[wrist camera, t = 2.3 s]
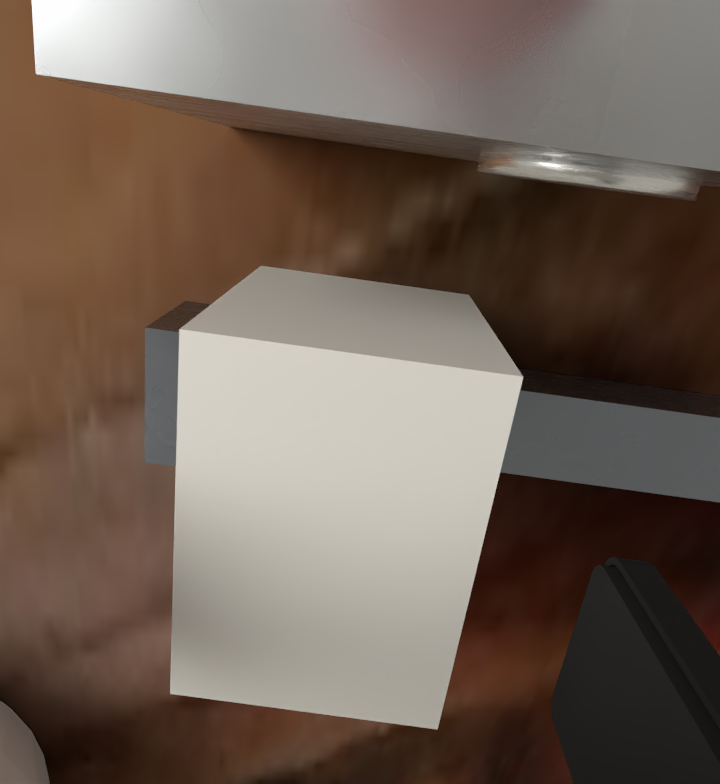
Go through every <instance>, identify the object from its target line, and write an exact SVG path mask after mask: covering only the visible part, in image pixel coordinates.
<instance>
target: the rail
mask: <svg viewBox="0 0 720 784" xmlns="http://www.w3.org/2000/svg"><path fill="white" fill-rule="evenodd" d="M208 306H210V305H209V304H202V303H195V302H187V301H185V302H183V303H182V304H180V305H179V306H177V307H176V308H174V309H173V310H171V311H170V312H168V313H166V314H165V315H163V316H162V317H160V318H159V319H157V320H156V321H154V322H153V323H151V324H150V325H148V326H147V327H145V462H147V463H154V464H162V465H169V466H176V441H177V401H178V361H179V329H180V328H181V327H183V326H184V325H185V324H187V323H188V322H189V321H190V320H192V319H193V318H194V317H196V316H197V315H198V314H199V313H201V312H202V311H203V310H205V309H206V308H207V307H208ZM518 369H519V371H520V372H521V374H522V375H523V381H522V385H521V389H520V393H519V397H518V401H517V405H516V409H515V414H514V418H513V422H512V426H511V430H510V434H509V438H508V442H507V446H506V450H505V455H504V459H503V463H502V467H501V471H500V472H501V473H509V474H516V475H523V476H531V477H538V478H545V479H552V480H560V481H567V482H574V483H582V484H589V485H596V486H603V487H611V488H618V489H625V490H633V491H640V492H647V493H654V494H662V495H669V496H676V497H684V498H691V499H698V500H705V501H713V502H720V396H716V395H709V394H702V393H695V392H688V391H680V390H673V389H666V388H659V387H652V386H644V385H637V384H630V383H623V382H616V381H608V380H601V379H594V378H587V377H580V376H572V375H565V374H558V373H551V372H544V371H536V370H529V369H522V368H518Z"/></svg>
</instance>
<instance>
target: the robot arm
mask: <svg viewBox="0 0 720 784" xmlns="http://www.w3.org/2000/svg"><path fill="white" fill-rule="evenodd" d="M552 717H553V722H554V725H555V728H556V731H557V734H558V737H559V740H560V743H561V746H562V749H563V752H564V755H565V758H566V761H567V764H568V767H569V770H570V773H571V776H572V779H573V782H574V784H720V656H719V655H718V653H717V652H716V650H715V649H714V648H713V646H712V645H711V644H710V642H709V641H708V639H707V638H706V637H705V635H704V634H703V632H702V631H701V630H700V628H699V627H698V626H697V624H696V623H695V621H694V620H693V619H692V617H691V616H690V615H689V613H688V612H687V610H686V609H685V608H684V606H683V605H682V603H681V602H680V601H679V599H678V598H677V597H676V595H675V594H674V592H673V591H672V590H671V588H670V587H669V586H668V584H667V583H666V581H665V580H664V579H663V577H662V576H661V574H660V573H659V572H658V570H657V569H656V568H655V566H654V565H653V564H652V563H650V562H647V561H639V560H631V559H623V558H615V557H612V558H609V559H608V560H607V561H606V562H605V564H604V566H602V565H598V566H596V567H595V568H594V570H593V572H592V574H591V578H590V581H589V584H588V587H587V590H586V593H585V596H584V599H583V603H582V606H581V609H580V612H579V615H578V618H577V621H576V625H575V628H574V631H573V634H572V637H571V640H570V643H569V646H568V650H567V653H566V656H565V659H564V662H563V665H562V668H561V671H560V675H559V678H558V681H557V684H556V687H555V690H554V693H553V698H552Z"/></svg>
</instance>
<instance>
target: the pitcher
mask: <svg viewBox="0 0 720 784" xmlns="http://www.w3.org/2000/svg"><path fill="white" fill-rule="evenodd" d="M0 784H50V781H49V777H48V772H47V767H46V763H45V758H44V755H43V753H42V751H41V749H40V747H39V745H38V743H37V741H36V739H35V737H34V735H33V733H32V731H31V730H30V729H29V728H28V726H27V725H26V724H25V723H24V722H23V721H22V720H21V719H20V718H19V717H18V716H17V714H16V713H15V712H14V711H13V710H12V709H11V708H10V707H8V706H7V705H6V704H4V703H3V702H2V701H0Z"/></svg>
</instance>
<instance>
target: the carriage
mask: <svg viewBox="0 0 720 784" xmlns="http://www.w3.org/2000/svg"><path fill="white" fill-rule="evenodd" d="M522 381H523V375H522V374H521V372H520V371H519V369H518V368H517V366H516V365H515V363H514V362H513V360H512V359H511V357H510V356H509V354H508V353H507V351H506V350H505V348H504V347H503V345H502V344H501V342H500V341H499V339H498V338H497V336H496V335H495V333H494V332H493V330H492V329H491V327H490V326H489V324H488V323H487V321H486V320H485V318H484V317H483V315H482V314H481V312H480V311H479V309H478V308H477V306H476V305H475V303H474V302H473V300H472V299H471V297H470V296H469V295H467V294H460V293H453V292H446V291H438V290H431V289H424V288H417V287H410V286H403V285H395V284H388V283H381V282H374V281H367V280H360V279H353V278H345V277H338V276H331V275H324V274H317V273H310V272H302V271H295V270H288V269H281V268H274V267H267V266H260V267H259V268H257V269H256V270H255V271H254V272H252V273H251V274H250V275H248V276H247V277H246V278H245V279H243V280H242V281H241V282H239V283H238V284H237V285H236V286H234V287H233V288H232V289H230V290H229V291H228V292H227V293H225V294H224V295H223V296H221V297H220V298H219V299H218V300H216V301H215V302H214V303H212V304H211V305H210V306H208V307H207V308H206V309H205V310H203V311H202V312H201V313H199V314H198V315H197V316H196V317H194V318H193V319H192V320H190V321H189V322H188V323H187V324H185V325H184V326H183V327H181V328H180V329H179V361H178V401H177V441H176V481H175V521H174V560H173V600H172V640H171V680H170V694H175V695H183V696H190V697H198V698H205V699H213V700H220V701H228V702H235V703H243V704H250V705H258V706H265V707H273V708H280V709H288V710H295V711H303V712H310V713H318V714H325V715H333V716H340V717H348V718H355V719H363V720H370V721H378V722H385V723H393V724H400V725H408V726H415V727H423V728H430V729H438V726H439V721H440V717H441V713H442V709H443V705H444V701H445V697H446V693H447V689H448V685H449V680H450V676H451V672H452V668H453V664H454V660H455V656H456V652H457V648H458V643H459V639H460V635H461V631H462V627H463V623H464V619H465V615H466V611H467V607H468V602H469V598H470V594H471V590H472V586H473V582H474V578H475V574H476V570H477V565H478V561H479V557H480V553H481V549H482V545H483V541H484V537H485V533H486V528H487V524H488V520H489V516H490V512H491V508H492V504H493V500H494V496H495V492H496V487H497V483H498V479H499V475H500V471H501V467H502V463H503V459H504V455H505V450H506V446H507V442H508V438H509V434H510V430H511V426H512V422H513V418H514V414H515V409H516V405H517V401H518V397H519V393H520V389H521V385H522Z"/></svg>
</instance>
